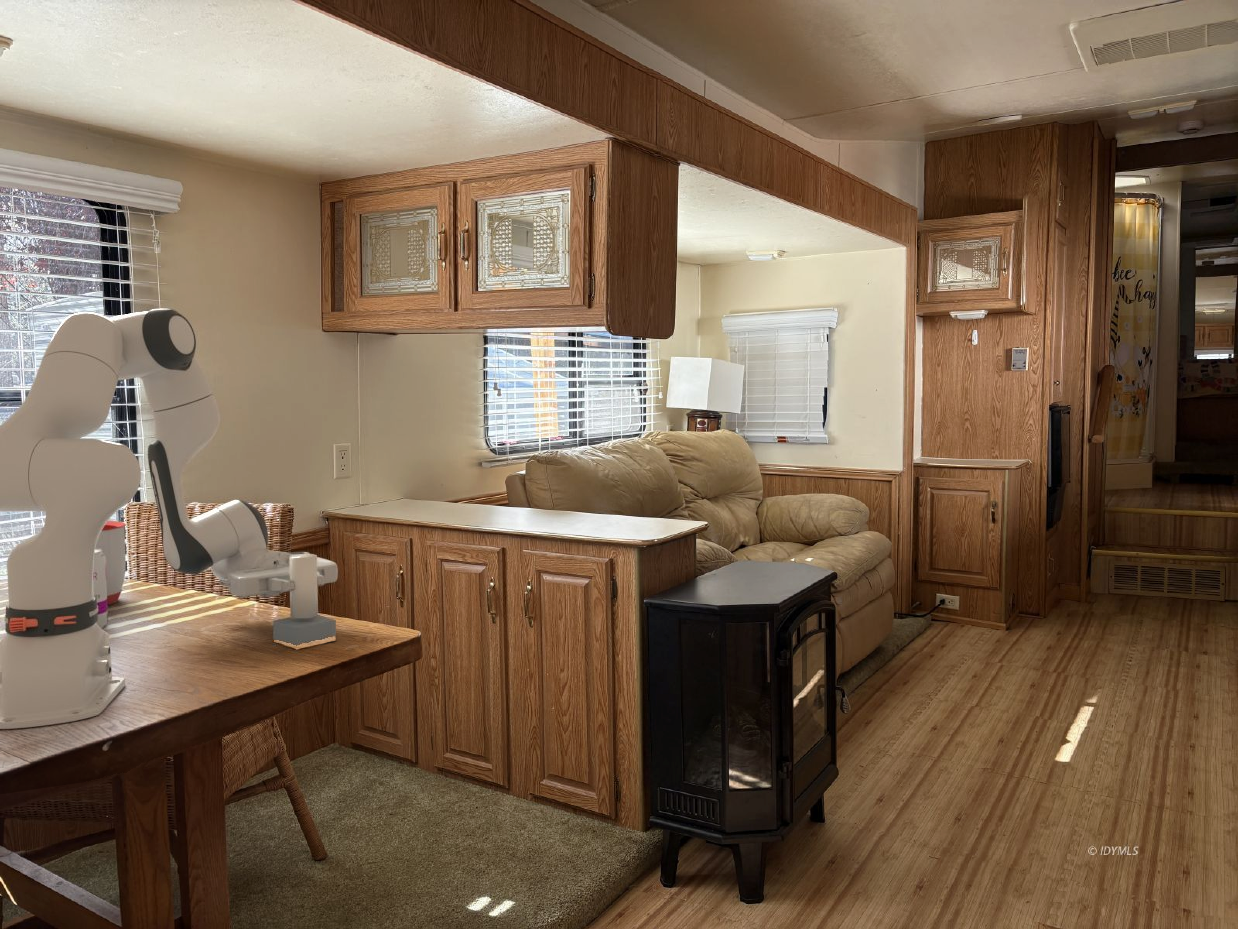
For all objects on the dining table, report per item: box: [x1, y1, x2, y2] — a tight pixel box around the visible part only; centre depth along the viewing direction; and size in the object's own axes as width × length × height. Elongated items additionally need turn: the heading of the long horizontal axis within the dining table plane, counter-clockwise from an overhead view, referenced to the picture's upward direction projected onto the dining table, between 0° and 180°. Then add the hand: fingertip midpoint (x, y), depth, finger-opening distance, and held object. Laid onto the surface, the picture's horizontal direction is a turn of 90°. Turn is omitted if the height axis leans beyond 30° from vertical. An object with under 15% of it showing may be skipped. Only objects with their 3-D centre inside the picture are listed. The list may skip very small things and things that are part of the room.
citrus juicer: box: [41, 520, 127, 606], centre depth 199 cm, size 16×17×20 cm
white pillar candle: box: [289, 553, 319, 618], centre depth 172 cm, size 5×5×11 cm
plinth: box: [272, 614, 337, 646], centre depth 173 cm, size 8×8×4 cm
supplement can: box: [93, 549, 109, 629], centre depth 180 cm, size 8×8×15 cm
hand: (306, 583), depth 172 cm, fingers closed on white pillar candle, 5 cm apart
